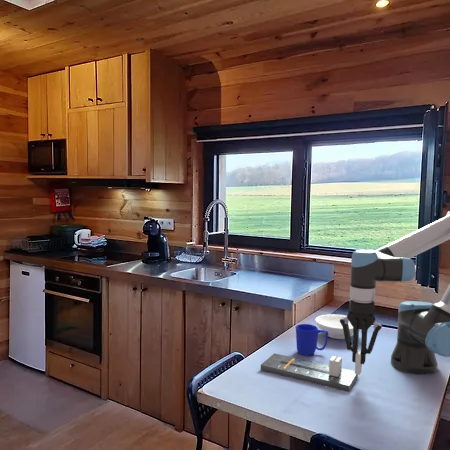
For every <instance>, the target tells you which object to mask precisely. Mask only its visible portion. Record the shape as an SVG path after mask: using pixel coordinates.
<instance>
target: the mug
mask: <svg viewBox="0 0 450 450" xmlns="http://www.w3.org/2000/svg"><path fill="white" fill-rule="evenodd" d="M320 333H324V334H326V335H325V341H324V344H323V346H322V347H320V348H319V347H318V345H317V344H318V338H319V337H318V336H319V334H320ZM295 338H296V339H295V340H296V341H295V342H296V351H297V353H298V354H299V355H303V356H313V355H314V354H315V353H316V350H318V351H324V350H325V348H326V347H327V344H328V338H329V336H328V331H325V330H322V329H319V327H318V326H317V325H313V324H309V323H302V324H301V323H300V324H297V325H296V326H295Z"/></svg>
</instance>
